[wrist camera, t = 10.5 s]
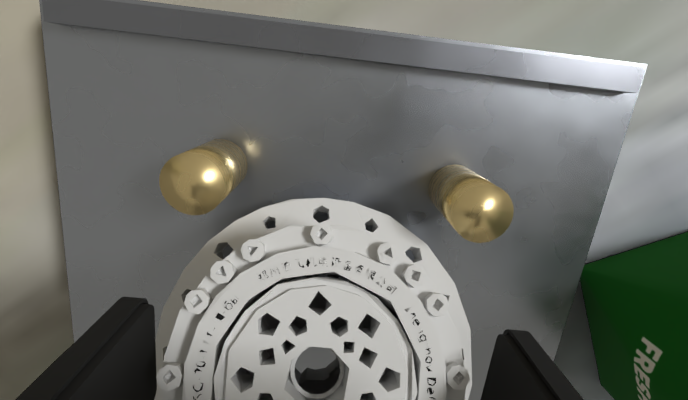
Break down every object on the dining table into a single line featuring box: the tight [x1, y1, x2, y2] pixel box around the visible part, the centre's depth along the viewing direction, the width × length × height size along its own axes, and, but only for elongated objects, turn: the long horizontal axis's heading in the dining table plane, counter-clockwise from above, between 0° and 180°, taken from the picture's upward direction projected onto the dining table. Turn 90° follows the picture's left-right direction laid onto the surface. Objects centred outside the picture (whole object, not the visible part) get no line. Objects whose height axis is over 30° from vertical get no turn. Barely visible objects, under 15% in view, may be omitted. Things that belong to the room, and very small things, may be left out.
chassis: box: [39, 0, 648, 400], centre depth 14 cm, size 20×18×5 cm
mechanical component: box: [154, 198, 472, 400], centre depth 11 cm, size 10×4×10 cm
